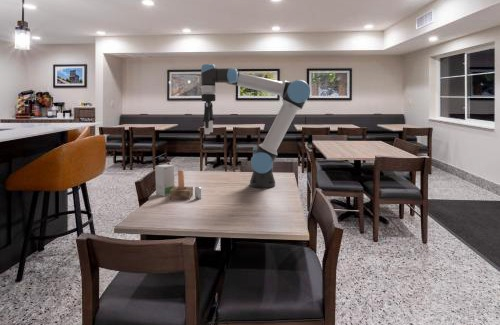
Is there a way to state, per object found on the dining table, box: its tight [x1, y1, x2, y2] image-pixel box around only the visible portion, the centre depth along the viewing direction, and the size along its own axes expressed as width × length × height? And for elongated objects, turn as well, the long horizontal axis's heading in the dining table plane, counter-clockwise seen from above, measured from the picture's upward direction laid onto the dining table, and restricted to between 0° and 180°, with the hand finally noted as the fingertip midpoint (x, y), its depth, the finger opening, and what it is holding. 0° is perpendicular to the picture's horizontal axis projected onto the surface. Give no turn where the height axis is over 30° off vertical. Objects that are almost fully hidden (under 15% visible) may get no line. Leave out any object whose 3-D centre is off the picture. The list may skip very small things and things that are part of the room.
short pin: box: [194, 186, 202, 201], centre depth 186 cm, size 3×3×6 cm
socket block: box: [169, 185, 194, 201], centre depth 189 cm, size 10×10×4 cm
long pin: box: [177, 169, 185, 190], centre depth 188 cm, size 3×3×14 cm
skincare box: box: [154, 163, 176, 197], centre depth 194 cm, size 8×7×16 cm
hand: (208, 133), depth 202 cm, fingers open, 13 cm apart
